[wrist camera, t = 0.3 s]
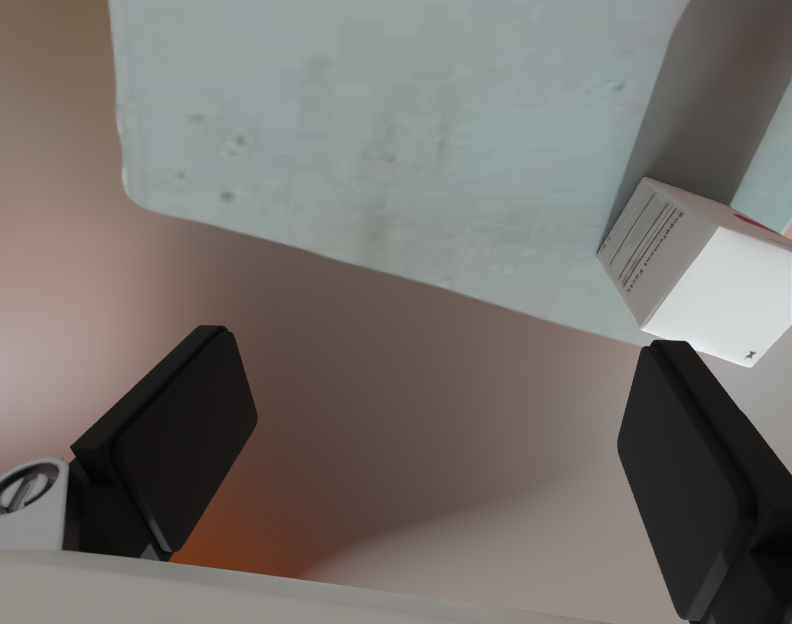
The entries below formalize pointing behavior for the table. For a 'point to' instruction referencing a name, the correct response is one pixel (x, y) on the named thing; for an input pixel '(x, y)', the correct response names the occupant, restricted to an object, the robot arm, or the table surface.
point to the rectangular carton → (700, 272)
